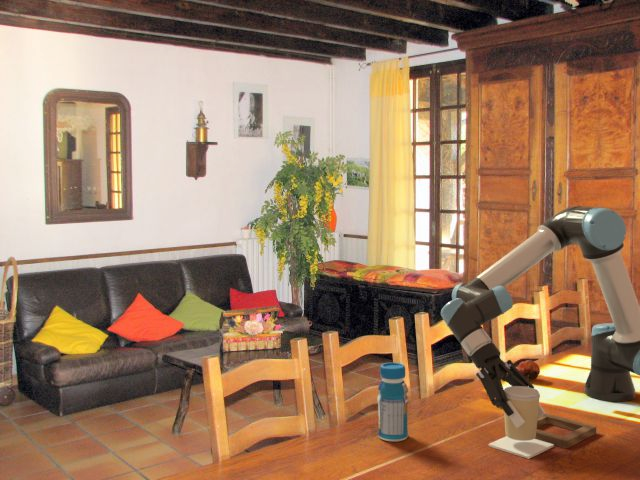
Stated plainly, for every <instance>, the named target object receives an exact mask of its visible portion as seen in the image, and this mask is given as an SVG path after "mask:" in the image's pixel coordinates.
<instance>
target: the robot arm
mask: <svg viewBox="0 0 640 480" xmlns="http://www.w3.org/2000/svg"><path fill="white" fill-rule="evenodd" d="M626 235H627V226H626V223H625V221H624V219H623V217H622V216H621V215H620V213H619V212H617V211H615V210H613V209H611V208H610V209H609V208H607V207H602V206H597V207H591V206H590V207H589V206H580V205H577V206H575V205H573V206H571V207H568V208H565V209H563V210H561V211H560V212H557V213H556V214H554V215H553V216H551V217H550V218H548V219H547V220H545V221H544V222H543V223H542V224H540V225H539V226H538V227H537V232H534V234H532V235H531V236H529V237H528V238H527V239H525V241H523V242H521V243H520V244H519V245H517V246H516V247H515V248H513V249H512V250H511V251H510V252H508V253H506V254H505V255H504V256H503V257H502V258H500V259H498V260H497V261H496V262H494V263H493V264H492V265H491V266H489V267H488V268H486V269H485V270H484V271H482V272H481V273H480V274H479V275H477V276H475V277H474V278H473V279H471V280H470V281H469V282H461V283H458V284H457V285H455V286H454V288H452V292H451V299H452V300H450V301H448V302H447V303H446V304H445V305H444V306H443V307H442V308H441V310H440V316H441V318H442V320H443V321H444V323H445V324H446V326H447V327H448V329H449V330H450V331H451V333H452V334H453V336H454V337H455V338H456V340H457V341H458V343H460V345H461V347H462V348H463V349H464V352H466V354H467V356H469V357H470V360H471V361H472V363H473V364H474V366H475V367H476V368H477V369H478V371H477V372H476V373H475V374H476V376H477V378H478V379H479V380H480V382H481V384H482V387H483V388H484V390H485V392H486V394H487V396H488V398H489V401H490V402H491V405H493V406H495V407H496V408H498V409H499V408H500V407H502V410H503V412H504V411H505V413H506V414H507V415H508V416H509V418H510V419H511V421H512V422H513V423H514V425H515V426H516V428H518V427H520V426H521V425H522V424H523V423H525V421H524V420H523V418H522V417H521V415H520V414H519V413H518V411H517V410H516V408H515V407H514V406H513V404H512V403H511V401H510V400H509V401H507V399H506V396H505V392H504V389H505V388H504V386H503V383H502V382H506V383H508V384H509V385H510V387H511V386H524V387H530V388H534V389H535V386H534V385H533V383H532V382H530V380H529V381H528V380H527V379H526V378H525V377H524V376H523V374H522V373H521V372H520V371H519V370H518V367H516V366H515V364H514V363H513V361H512V360H511V359H508V360H507V361H503V359H501V351H500V349H498V347H497V346H496V344H495V343H494V342H492V338H491V337H490V335H489V334H488V333H487V332H486V330H484V328H483V327H482V326H483V325H484V324H486V323H488V322H490V321H491V320H494V319H496V318H498V317H500V316H501V315H504V314H505V313H506V312H508V311H510V310H511V309H512V308H513V305H514V303H513V302H514V301H513V298H512V296H511V293H510V292H509V290H508V289H507V288H505V287H507V286H508V285H510V284H512V283H513V282H514V281H515V280H517V279H518V278H519V277H520V276H522V275H523V274H524V273H526V272H527V271H529V269H531V268H532V267H534V266H535V265H536V264H538V263H540V262H541V261H542V260H543V259H544V258H546V257H547V256H549V255H550V254H552V253H553V252H555V253H556V252H557V253H558V252H560V251H561V250H563V249H564V248H566V247H569V246H572V245H573V246H579V248H580V251H581V254H582V256H583V258H584V259H585V260H586V261H589V262H590V263H591V266H592V269H593V270H594V273H595V276H596V277H595V278H596V279H597V282H598V285H599V288H600V290H601V293H602V296H603V299H604V301H605V303H606V307H607V310H608V313H609V315H610V317H611V320H612V322H610V323H608V322H607V323H605V322H604V323H598V324H594V325H593V326H592V328H591V334H590V339H591V342H590V343H591V344H590V346H591V348H590V370H589V373H588V376H587V379H586V381H585V384H584V394H585V396H588V397H591V398H592V399H597V400H602V401H606V402H607V401H608V402H627V401H628V402H629V401H632V400H634V399H635V397H636V389H635V385H634V382H633V379H632V375H631V373H633V374H636V375H637V376H640V304H639V300H638V298H637V294H636V292H635V289H634V287H633V284H632V281H631V278H630V275H629V273H628V269H627V267H626V264H625V261H624V259H623V258H624V257H623V256H622V253H621V252H622V250H623V249H624V247H625V245H624V241H625V240H626ZM506 401H507V402H506ZM546 413H547V412H546V411H545V410H544V408H543V407H542V405H541V403H539V409H538V419H539V418H541V417H542V416H543V415H544V414H546Z"/></svg>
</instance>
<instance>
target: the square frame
mask: <svg viewBox="0 0 640 480" xmlns="http://www.w3.org/2000/svg"><path fill="white" fill-rule="evenodd" d="M545 425H550V426H551V425H552V426H555V427H558V428H562V429H566V430H569V431H571V432H568V433H567V434H565V435H559V434H556V433H552V432H549V431H545V430H542V429H538V428H540V427H543V426H545ZM594 435H597V425H593V424H588V423H585V422H581V421H577V420H574V419H569V418H566V417H562V416H558V415H553V414H551V413H547V412H546V414H544V415H543V416H542V417H541V418H539V419H538V420H537V430H536V437H535V439H537V440H541V441H544V442H547V443H551V444H554V447H555V446H556V447H559V448H563V449H568V448H570V447H573V446H575V445H576V444H578V443H581V442H582V441H584V440H587V439H588V438H590V437H592V436H594Z"/></svg>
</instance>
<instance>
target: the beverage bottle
mask: <svg viewBox="0 0 640 480" xmlns="http://www.w3.org/2000/svg"><path fill="white" fill-rule="evenodd" d="M379 371H380V372H379V373H380V374H379V375H380V376H379V377H380V378H381V381H380V383H379V384H378V387H377V392H378V395H377V398H376V399H377V405H378V406H377V412H378V413H377V416H378V418H377V420H378V424H377V425H378V428H377V436H378V438H379V439H381V440H383V441H386V442H392V443H394V442H402V441H404V440H406V439H407V438H408V436H409V430H408V404H409V397H408V393H409V388H408V386H407V384H406V381H405V380H404V379H406V378H405V377H406V366H405V365H404V364H403V363H400V362H386V363H382V364H380V370H379Z"/></svg>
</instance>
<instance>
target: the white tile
mask: <svg viewBox="0 0 640 480" xmlns="http://www.w3.org/2000/svg"><path fill="white" fill-rule="evenodd" d="M488 447H490V448H492V449H497V450H499V451H503V452H506V453H509V454H512V455H516V456H518V457H522V458H524V459H527V460H529V459H531V458H534V457H535V456H538V455H540V454H541V453H544V452H545V451H548V450H551V448H552V449H553V448H554V447H555V445H554V444H551V443H547V442H544V441H541V440H537V439H533V440H529V441H520V440H514V439H511V438H509V437H507V436H506V435H505V436H503V437H501V438H499V439H496V440H495V441H492V442H489V443H488Z"/></svg>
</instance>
